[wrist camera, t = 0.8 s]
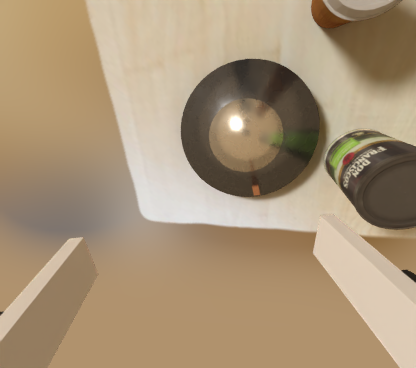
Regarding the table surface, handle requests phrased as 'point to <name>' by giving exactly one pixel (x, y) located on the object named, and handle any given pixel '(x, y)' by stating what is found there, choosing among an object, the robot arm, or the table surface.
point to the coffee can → (375, 176)
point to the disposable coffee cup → (348, 10)
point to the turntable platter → (250, 127)
